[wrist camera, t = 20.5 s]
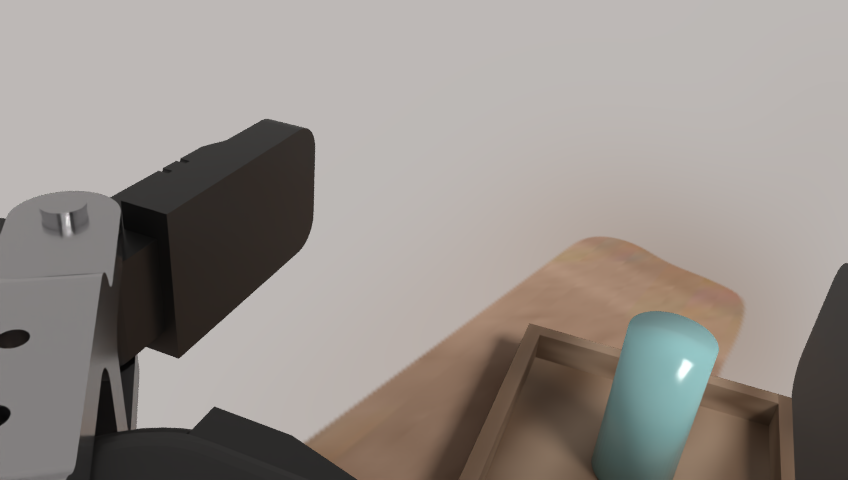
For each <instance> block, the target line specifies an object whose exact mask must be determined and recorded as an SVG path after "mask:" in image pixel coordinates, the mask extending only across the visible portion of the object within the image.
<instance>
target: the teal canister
mask: <svg viewBox="0 0 848 480" xmlns="http://www.w3.org/2000/svg"><path fill="white" fill-rule="evenodd" d="M718 351H719V347H718V343H717V341H716V339H715V338H714V336H713V335H712V334H711V333H710V332H709V331H708V330H707V329H706V328H704V327H703V326H702V325H700V324H699V323H697V322H695V321H693V320H691V319H689V318H686V317H684V316H681V315H678V314H674V313H669V312H661V311H650V312H644V313H641V314H638V315H636V316H635V317H633V318H632V319H631V321H630V323H629V325H628V329H627V333H626V336H625V340H624V343H623V347H622V351H621V354H620V358H619V361H618V365H617V368H616V372H615V376H614V379H613V383H612V386H611V390H610V394H609V397H608V401H607V404H606V408H605V412H604V415H603V419H602V422H601V426H600V429H599V433H598V437H597V440H596V444H595V447H594V451H593V455H592V459H591V464H592V468H593V471H594V473H595V475H596V476H597V478H598V479H599V480H673V478H674V475H675V472H676V469H677V467H678V464H679V461H680V458H681V455H682V453H683V450H684V447H685V444H686V441H687V439H688V436H689V433H690V430H691V427H692V424H693V422H694V419H695V416H696V413H697V410H698V408H699V405H700V402H701V399H702V396H703V394H704V391H705V388H706V385H707V382H708V380H709V377H710V374H711V371H712V368H713V366H714V363H715V360H716V357H717V354H718Z"/></svg>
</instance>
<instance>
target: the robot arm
mask: <svg viewBox="0 0 848 480" xmlns="http://www.w3.org/2000/svg"><path fill="white" fill-rule="evenodd" d="M314 166H315V142H314V136H313V134H312V132H311V131H310V130H309V129H307V128H302V127H299V126H295V125H290V124H287V123H283V122H278V121H274V120H270V119H264V120H261V121H260V122H258V123H256V124H254V125H253V126H251V127H249V128H247V129H246V130H244V131H242V132H240V133H239V134H237V135H235V136H233V137H232V138H230V139H228V140H226V141H223V142H219V143H214V144H211V145H207V146H203V147H201V148H199V149H197V150H195V151H194V152H192V153H190V154H188V155H186V156H184V157H183V158H181V160H180V162H178V161H175V162H174V163H172V164H170V165H168V166H166V167H164V168H163V171H162V172H161V171H157V172H156V173H154V174H152V175H150V176H148V177H147V178H145V179H143V180H141V181H139V182H137V183H136V184H134V185H132V186H130V187H128V188H127V189H125V190H123V191H121V192H119V193H118V194H116V195H114V196H112V197H107V196H105V195H102V194H98V193H92V192H84V191H66V192H56V193H50V194H45V195H41V196H38V197H35V198H32V199H30V200H27V201H25V202H23V203H21V204H19V205H18V206H16V207H15V208H13V209H12V210H11V211H10V213H9V214H8V216H7V218H6V219H4V218H0V480H357V479H355V478H354V477H352V476H351V475H349V474H348V473H347V472H345V471H344V470H342V469H341V468H339V467H338V466H336V465H335V464H333V463H332V462H330V461H329V460H327V459H326V458H324V457H323V456H321V455H320V454H318V453H317V452H315V451H314V450H312V449H311V448H309V447H308V446H307V445H305V444H304V443H302V442H301V441H299V440H298V439H296V438H294V437H293V436H291V435H289V434H286V433H283V432H281V431H278V430H276V429H273V428H270V427H268V426H265V425H262V424H259V423H257V422H254V421H252V420H249V419H246V418H243V417H241V416H238V415H235V414H233V413H230V412H227V411H225V410H222V409H219V408H216V407H214V408H213V409H212V410H211V411H210V412H209V413H208V414H207V415H206V416H205V417H204V418H203V419H202V420H201V421H200V422H199V423H198V424H197V425H196V426H195V427H194V428H193V429H192V430H191V429H183V428H142V429H136V424H137V406H138V405H137V404H138V387H139V364H138V356H137V354H138V353H139V352H140V351H141V350H143V349H144V348H145V347H148V348H151V349H154V350H157V351H159V352H162V353H165V354H168V355H170V356H173V357H176V358H180V357H181V356H182V355H183V354H184V353H186V352H187V351H188V350H189V349H190V348H191V347H192V346H193V345H194V344H196V343H197V342H198V341H199V340H200V339H201V338H202V337H204V336H205V335H206V334H207V333H208V332H209V331H210V330H211V329H212V328H214V327H215V326H216V325H217V324H218V323H219V322H220V321H222V320H223V319H224V318H225V317H226V316H227V315H228V314H229V313H231V312H232V311H233V310H234V309H235V308H236V307H237V306H238V305H239V304H240V303H242V302H243V301H244V300H245V299H246V298H247V297H248V296H250V294H252V293H253V292H254V291H255V290H256V289H257V288H258V287H259V286H261V285H262V284H263V283H264V282H265V281H266V280H268V279H269V278H270V277H271V276H272V275H273V274H274V273H275V272H277V270H279V269H280V268H281V267H282V266H283V265H284V264H285V263H287V262H288V261H289V260H290V259H291V258H292V257H293V256H294V255H296V254H297V253H298V252H299V251H300V250H301V249H302V247H303V246H304V244H305V242H306V240H307V239H308V236H309V234H310V230H311V227H312V222H313V211H314V170H315V167H314ZM792 417H793V442H794V466H795V480H848V263H845V264H843V265H842V266H841V267H840V269H839V270H838V272H837V274H836V276H835V278H834V280H833V282H832V285H831V287H830V289H829V292H828V294H827V296H826V299H825V301H824V303H823V306H822V308H821V310H820V313H819V315H818V318H817V320H816V323H815V325H814V327H813V329H812V332H811V334H810V336H809V339H808V341H807V343H806V346H805V348H804V351H803V353H802V356H801V358H800V361H799V364H798V367H797V371H796V375H795V379H794V384H793V390H792Z"/></svg>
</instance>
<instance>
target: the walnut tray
mask: <svg viewBox="0 0 848 480" xmlns="http://www.w3.org/2000/svg"><path fill="white" fill-rule="evenodd" d="M621 351H622V350H621V349H618V348H614V347H611V346H607V345H604V344H600V343H597V342H593V341H590V340H586V339H583V338H579V337H576V336H572V335H569V334H565V333H562V332H558V331H555V330H551V329H547V328H544V327H540V326H537V325H533V324H530V323H529V326H528V328H527V330H526V332H525V334H524V337H523V339H522V341H521V343H520V345H519V348H518V350H517V352H516V354H515V356H514V359H513V361H512V363H511V365H510V368H509V370H508V372H507V374H506V376H505V379H504V381H503V383H502V385H501V387H500V390H499V392H498V394H497V396H496V398H495V401H494V403H493V405H492V407H491V410H490V412H489V414H488V416H487V418H486V421H485V423H484V425H483V427H482V429H481V432H480V434H479V436H478V438H477V440H476V443H475V445H474V447H473V449H472V451H471V454H470V456H469V458H468V460H467V463H466V465H465V467H464V469H463V471H462V474H461V476H460V478H459V480H599V479H598V478H597V476H596V475H595V473H594V471H593V468H592V464H591V459H592V455H593V451H594V447H595V444H596V440H597V437H598V433H599V429H600V426H601V422H602V419H603V415H604V412H605V408H606V404H607V401H608V397H609V394H610V390H611V386H612V383H613V379H614V376H615V372H616V368H617V365H618V361H619V358H620V354H621ZM673 480H795V466H794V442H793V417H792V398H790V397H786V396H783V395H779V394H776V393H772V392H769V391H765V390H762V389H758V388H755V387H751V386H747V385H744V384H741V383H737V382H734V381H730V380H727V379H723V378H720V377H716V376H713V375H710V377H709V380H708V382H707V385H706V388H705V391H704V394H703V396H702V399H701V402H700V405H699V408H698V410H697V413H696V416H695V419H694V422H693V424H692V427H691V430H690V433H689V436H688V439H687V441H686V444H685V447H684V450H683V453H682V455H681V458H680V461H679V464H678V467H677V469H676V472H675V475H674V478H673Z"/></svg>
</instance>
